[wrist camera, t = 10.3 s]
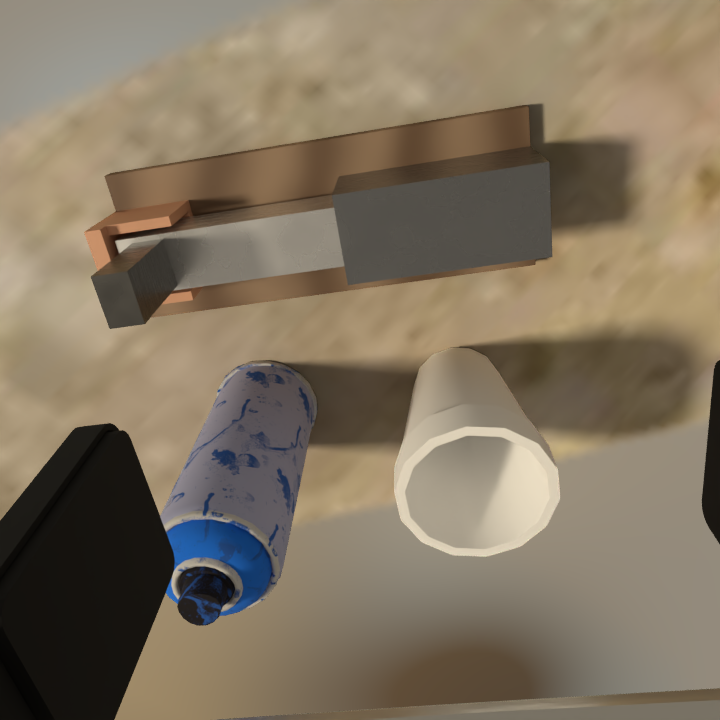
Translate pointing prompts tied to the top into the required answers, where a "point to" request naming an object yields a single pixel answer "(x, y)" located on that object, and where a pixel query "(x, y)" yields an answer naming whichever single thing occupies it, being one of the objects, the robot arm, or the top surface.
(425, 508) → the foam cup
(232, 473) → the aerosol can
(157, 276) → the square sliding rod
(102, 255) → the socket block
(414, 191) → the outer sleeve
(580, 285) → the top surface
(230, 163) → the track board
